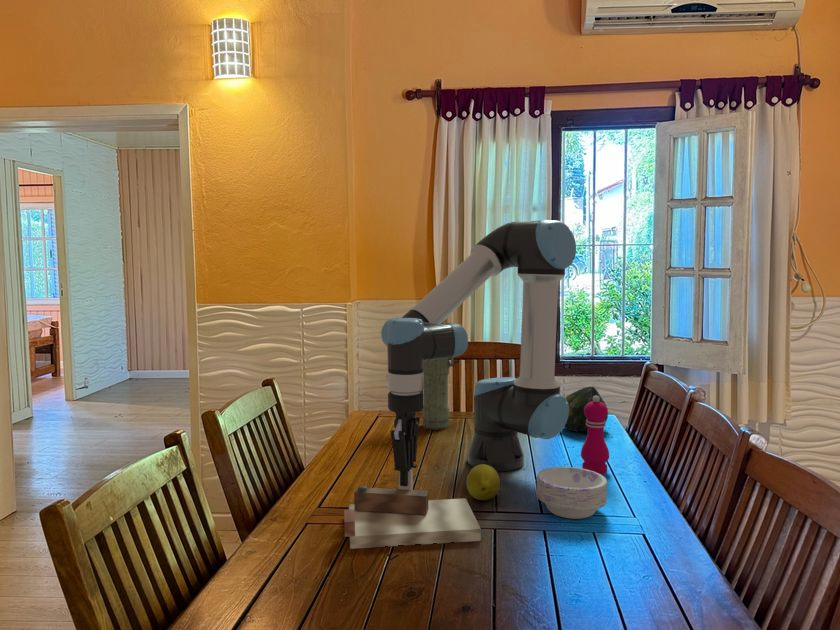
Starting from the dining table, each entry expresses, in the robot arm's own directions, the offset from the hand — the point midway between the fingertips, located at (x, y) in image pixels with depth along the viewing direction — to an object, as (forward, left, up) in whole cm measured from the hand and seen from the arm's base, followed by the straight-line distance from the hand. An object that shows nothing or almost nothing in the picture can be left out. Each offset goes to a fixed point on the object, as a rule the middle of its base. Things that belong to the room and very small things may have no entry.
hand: (405, 498), depth 142 cm
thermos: (-17, -71, -5) cm, 73 cm away
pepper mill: (-52, -23, -5) cm, 57 cm away
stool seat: (-1, +5, -5) cm, 7 cm away
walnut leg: (+3, +1, -2) cm, 4 cm away
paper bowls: (-37, +1, -5) cm, 37 cm away
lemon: (-19, -8, -5) cm, 21 cm away
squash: (-63, -60, -5) cm, 87 cm away
